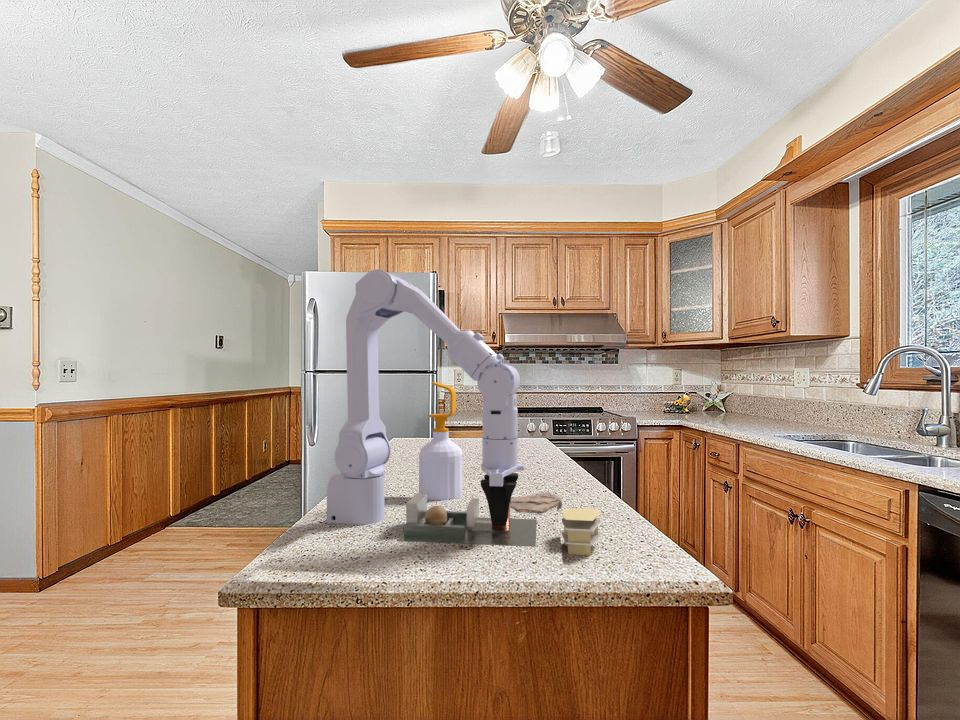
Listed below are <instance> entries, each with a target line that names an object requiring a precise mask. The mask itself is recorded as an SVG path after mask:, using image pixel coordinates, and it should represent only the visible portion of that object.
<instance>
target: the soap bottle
mask: <svg viewBox="0 0 960 720" xmlns="http://www.w3.org/2000/svg"><path fill="white" fill-rule="evenodd" d="M431 385H432V386H435V387H439V388H442V389H444V390H446V391H448V392H449V394H450V410H449V411H450V412H449V413H432V414H431V413H430V414H428V418H433V419H434V420H433V421H434V422H436V427H434V428H432V440H430V441H429V442H427V443H426V444H424V445H423V446H422V447H421V448H420V451H419V453H418V493H427V500H429V501H448V500H453V499H456V500H463V450H462V449H461V447H460V446H459V445H458V444H457V443H455V442H454V441H452V440H451V439H450V437H449V436H450V434H449V433H450V431H449V428H448V427H446V426H445V425H446V422H448V418H450V417H452V416H454V415H455V414H456V413H457V412H456V411H457V392H456V389H455V388H454V387H452V386H450V385H447V384H443V383H441V382H437V381H433V382H431Z"/></svg>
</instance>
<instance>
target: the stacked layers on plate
mask: <svg viewBox="0 0 960 720" xmlns="http://www.w3.org/2000/svg"><path fill="white" fill-rule="evenodd" d="M561 513H562V514H563V517H562V518H561V524H562V525H563V530H562V531H561V536H562V539H563V546H564V545H565V547H566V546H567V554H568V555H574V554H577V556H591V555H592V554H591V553H592V549H591V548H592V546H594V544H596V543H597V541H598V540H599V539H600V537H601V532H600V531H599V525H601V519H600V518H597V517H598V516H599V515H600V514H601V511H600V510H599V509H594V508H589V507H587V508H586V507H585V508H565V509H562V510H561Z"/></svg>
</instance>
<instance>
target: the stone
mask: <svg viewBox="0 0 960 720" xmlns="http://www.w3.org/2000/svg"><path fill="white" fill-rule="evenodd" d="M562 506H563V502H562V498H561V497H560V496H558V495H556V494H553V493H550V492H541V493H535V494H531V495H524V496H515V497H511V501H510V509H514V510H515V511H516V512H517V513H529V514H532V513H534V514H544V513H546V512H548V511H549V510H551V509H552V508H553V509H554V508H555V507H556V509H557V511H558V510H560V509H562Z"/></svg>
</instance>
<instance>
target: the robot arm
mask: <svg viewBox="0 0 960 720" xmlns="http://www.w3.org/2000/svg"><path fill="white" fill-rule="evenodd" d="M404 312H405V313H409V314H412V315H413V316H414V317H416V318H417V319H418V320H419V321H421V322H422V323H423V325H425V326H426V327H428V329H430V331H432V332H433V334H435V335H436V336H437V337H438V338H439V339H441V341H443V342H444V343H446V347H447V351H446V352H447V356H448V357H449V358H450V359H451V360H452V361H453V362H454V363H455V364H456V365H457V366H458V367H460V368H461V369H462V370H463V371H464V372H465V373H466V374H467V376H469V377H470V378H471V379H472V380H473V381H474V382H477V388H478V391H479V392H480V394H481V395H482V438H481V439H482V440H481V441H482V442H481V443H482V446H481V447H482V458H481V459H482V460H481V461H482V462H481V464H480V469H481V471H482V472H483V473H485V475H484V477H483V478H482V479H481V480H480V487H481V489H482V491H483V493H484V495H485V498H486V501H487V506H488V509H489V516H490V517H489V518H491V521H492V525H493V526H505V525H506V522H507V517H508V511H509V504H510V501H511V498H512V495H513V493H514V491H515V488H516V487H517V484H518V483H517V481H518V479H519V474H518V473H516V472H518V471H525V470H526V464H524V463H518V462H519V460H518V459H519V458H518V457H519V455H518V453H519V452H518V451H519V450H518V447H519V445H518V443H519V442H518V440H519V438H518V435H519V433H518V432H519V431H518V430H519V429H518V428H519V427H518V426H519V425H518V424H519V423H518V419H519V418H518V415H519V414H518V411H519V410H518V394H517V392H518V391H519V389H520V386H521V376H520V373H519V371H518V370H517V369H516V367H515V365H514V364H511V363H510V362H503V361H504V359H505V357H504V356H503V355H502V354H501V353H498V354H497V353H496V352H495V351H494V350H493V349H492V348H491V347H490V346H489V345H488V344H487V343H485V341H484V339H485V337H484V336H483V335H482V333H480V332H474V331H473V330H471V329H469V330H461V329H460V328H459V327H458V326H457V325H456V324H455V323H454V322H453V321H452V320H451V319H450V318H449V317H448V316H447V315H446V314H445V313H444V312H443V311H442V310H441V309H440V308H439V307H438V306H437V304H435V303H434V301H432V300H431V299H430V297H428V296H427V294H426V293H424V291H422V290H421V289H420V288H418V287H416V286H414V285H413V284H412V283H411V281H409V280H408V279H406V278H403V277H400V276H399V277H398V276H396V275H394V274H392V273H389V272H387V271H386V270H383V269H371V270H370V271H367V273H366V274H365V275H363V276H362V277H361V278H360V279H359V280H358V281H357V282H356V283H355V295H354V297H353V300H352V303H351V305H350V307H349V310H348V312H347V314H346V318H345V328H346V329H345V332H346V333H345V334H346V335H345V337H346V344H345V345H346V385H347V386H346V387H347V390H346V391H347V394H346V395H347V397H346V398H347V420H346V422H345V423H344V425H343V426H342V427H341V429H340V430H339V434H338V443H337V447H336V449H335V451H334V463H335V465H336V467H337V469H338V470H339V471H340V472H341V473H334V474H333V475H331V477H330V478H329V480H328V483H327V487H326V523H328V524H345V525H354V526H364V525H365V526H367V525H373V524H377V523H381V522H382V521H384V520H385V478H386V477H385V472H386V471H385V468H386V467H385V464H387V463H388V462H389V460H390V458H391V455H392V454H391V453H392V447H391V444H390V441H389V440H388V437H387V428H386V425H385V424H384V422H383V420H382V419H381V418H380V390H379V389H380V383H379V382H380V381H379V378H380V377H379V373H380V372H379V340H378V339H379V334H378V333H379V332H378V331H379V329H380V328H382V326H384V324H386V322H387V321H389V320H390V319H392V318H395V317H396V316H398V315H401V314H402V313H404Z"/></svg>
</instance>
